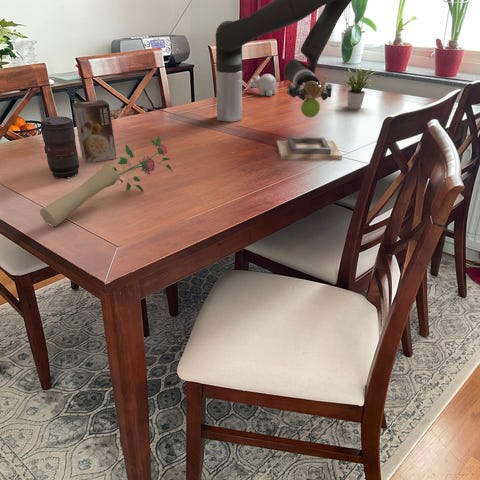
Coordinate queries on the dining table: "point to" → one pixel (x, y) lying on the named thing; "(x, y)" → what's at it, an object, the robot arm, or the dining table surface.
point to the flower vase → (97, 186)
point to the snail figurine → (312, 98)
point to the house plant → (356, 89)
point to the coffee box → (94, 130)
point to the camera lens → (60, 146)
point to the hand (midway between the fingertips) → (314, 96)
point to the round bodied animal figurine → (265, 84)
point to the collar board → (308, 148)
